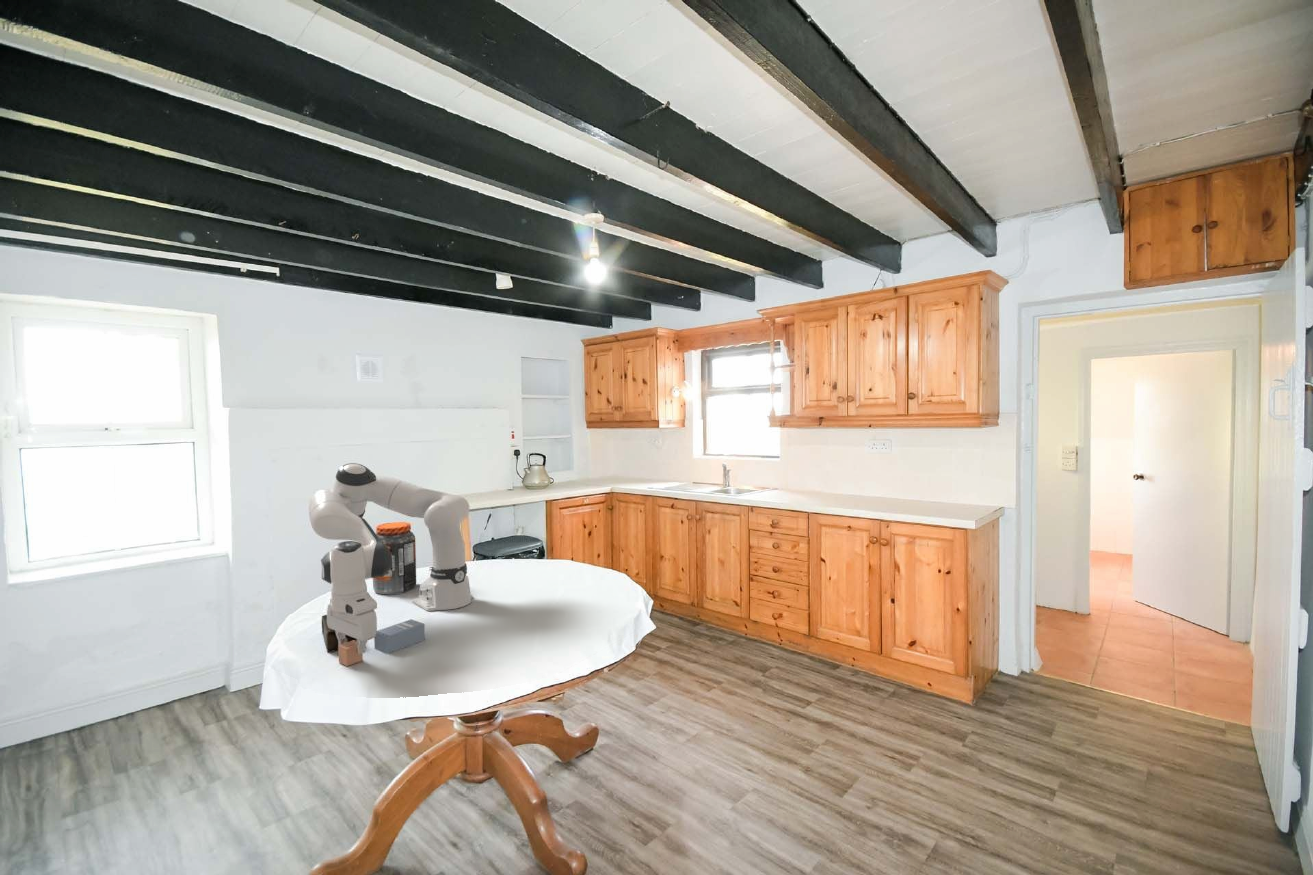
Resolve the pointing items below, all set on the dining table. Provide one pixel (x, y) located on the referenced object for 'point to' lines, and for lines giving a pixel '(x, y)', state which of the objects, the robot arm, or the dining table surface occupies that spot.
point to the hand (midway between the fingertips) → (351, 649)
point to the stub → (349, 653)
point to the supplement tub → (397, 558)
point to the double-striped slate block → (399, 636)
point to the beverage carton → (331, 636)
